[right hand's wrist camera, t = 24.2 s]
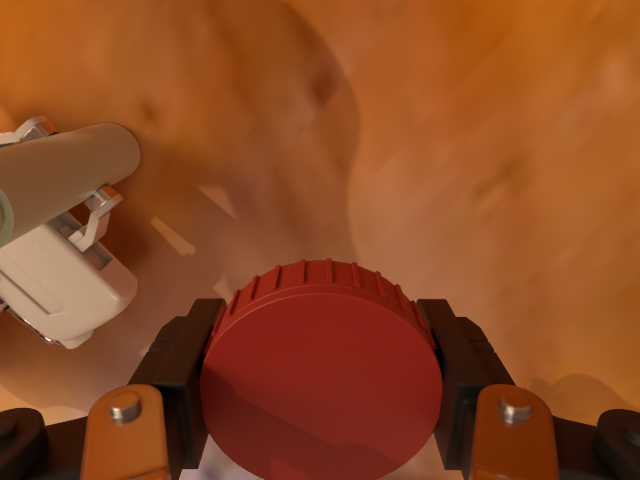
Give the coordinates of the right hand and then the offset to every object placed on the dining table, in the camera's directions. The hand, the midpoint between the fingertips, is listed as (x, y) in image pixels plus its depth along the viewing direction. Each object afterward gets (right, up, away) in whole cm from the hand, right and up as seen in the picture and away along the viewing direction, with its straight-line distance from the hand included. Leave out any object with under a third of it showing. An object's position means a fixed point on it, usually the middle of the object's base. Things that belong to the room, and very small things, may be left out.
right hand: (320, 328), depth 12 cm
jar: (-17, +10, +25) cm, 32 cm away
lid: (0, -1, -2) cm, 3 cm away
